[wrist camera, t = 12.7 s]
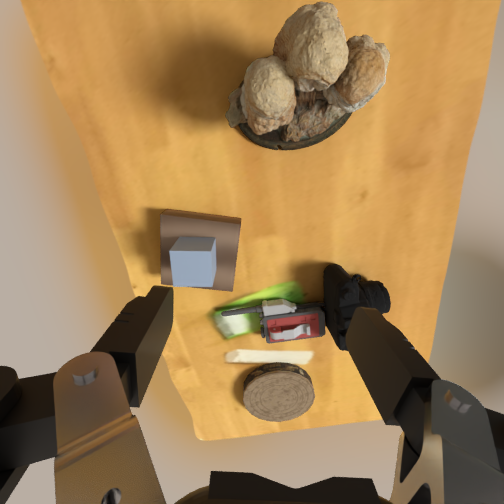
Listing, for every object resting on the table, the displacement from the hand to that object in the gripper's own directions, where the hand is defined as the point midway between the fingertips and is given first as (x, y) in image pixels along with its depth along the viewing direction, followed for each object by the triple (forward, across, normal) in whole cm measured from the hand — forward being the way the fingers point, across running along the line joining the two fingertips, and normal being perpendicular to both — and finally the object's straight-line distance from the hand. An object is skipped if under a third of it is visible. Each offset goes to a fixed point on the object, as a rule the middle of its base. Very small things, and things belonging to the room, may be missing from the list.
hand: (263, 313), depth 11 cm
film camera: (+30, -20, +16) cm, 40 cm away
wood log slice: (+31, -12, +43) cm, 54 cm away
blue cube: (+27, +7, +10) cm, 29 cm away
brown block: (+31, +7, +10) cm, 33 cm away
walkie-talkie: (+30, -8, +23) cm, 39 cm away
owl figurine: (+30, -4, -13) cm, 33 cm away
